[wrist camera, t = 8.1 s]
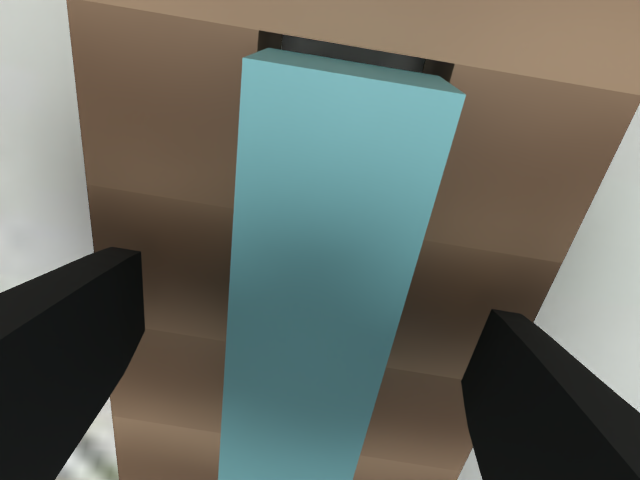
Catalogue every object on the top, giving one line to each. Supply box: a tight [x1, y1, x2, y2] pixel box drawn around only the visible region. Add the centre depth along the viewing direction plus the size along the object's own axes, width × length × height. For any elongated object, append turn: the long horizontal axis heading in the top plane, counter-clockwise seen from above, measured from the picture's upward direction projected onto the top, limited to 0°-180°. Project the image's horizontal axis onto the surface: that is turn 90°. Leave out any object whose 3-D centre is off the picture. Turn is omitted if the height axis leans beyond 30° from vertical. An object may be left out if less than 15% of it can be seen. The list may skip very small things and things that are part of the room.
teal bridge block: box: [218, 48, 466, 480], centre depth 10 cm, size 10×3×5 cm, turn 172°
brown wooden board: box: [66, 0, 640, 480], centre depth 11 cm, size 22×10×3 cm, turn 171°
